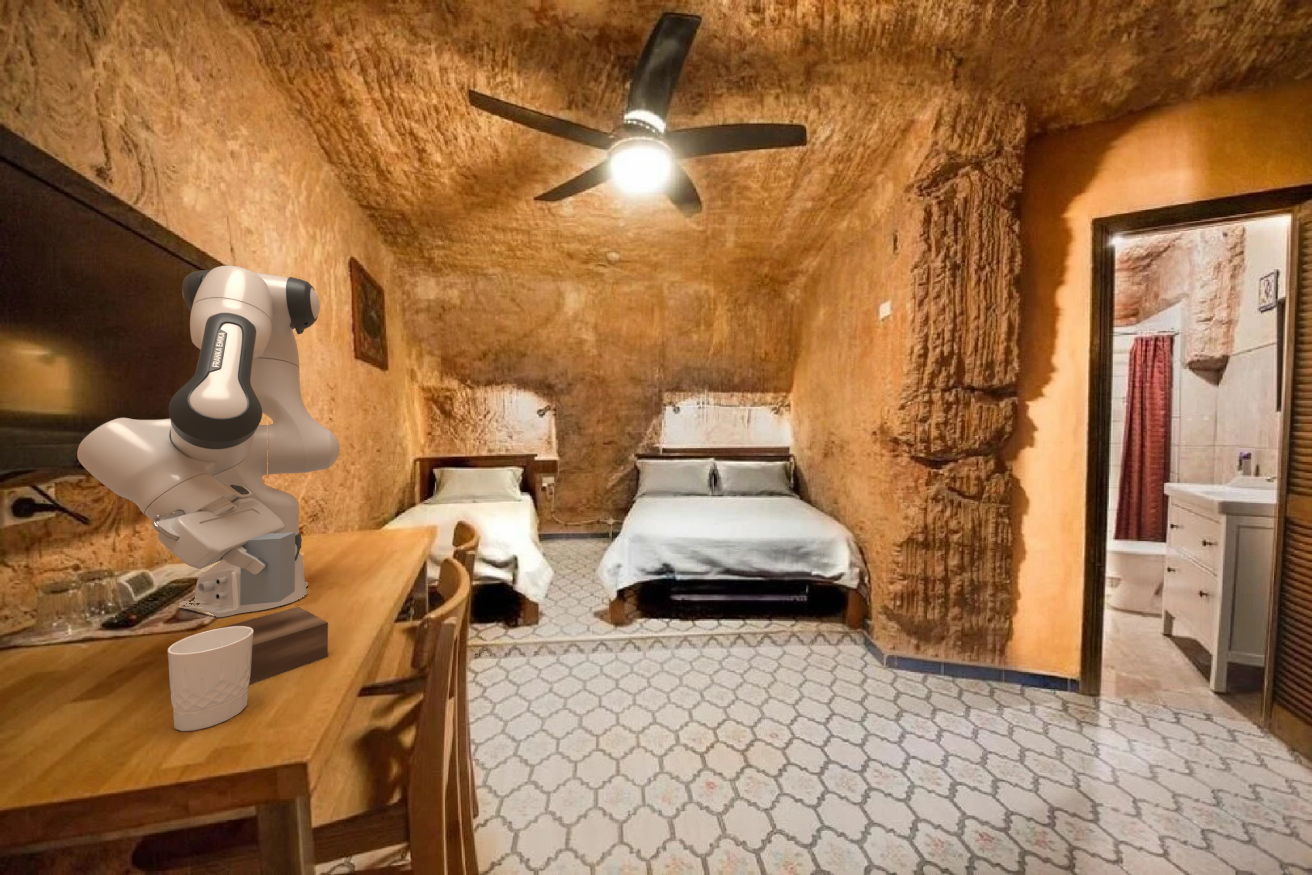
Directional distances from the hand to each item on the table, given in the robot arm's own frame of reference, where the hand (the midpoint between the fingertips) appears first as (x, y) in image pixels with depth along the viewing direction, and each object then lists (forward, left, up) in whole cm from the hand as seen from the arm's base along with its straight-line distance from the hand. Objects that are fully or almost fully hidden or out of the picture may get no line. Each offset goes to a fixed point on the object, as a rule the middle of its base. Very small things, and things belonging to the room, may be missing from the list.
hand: (273, 564), depth 71 cm
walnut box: (-1, 0, -16) cm, 16 cm away
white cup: (+6, -13, -16) cm, 21 cm away
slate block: (0, 0, -5) cm, 5 cm away
